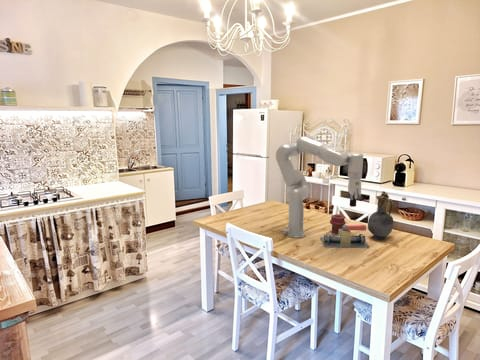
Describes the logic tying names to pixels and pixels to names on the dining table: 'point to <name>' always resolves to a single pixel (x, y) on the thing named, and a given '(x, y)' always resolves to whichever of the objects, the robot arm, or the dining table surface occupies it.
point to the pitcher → (381, 218)
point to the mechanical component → (337, 222)
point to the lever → (353, 227)
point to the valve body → (344, 240)
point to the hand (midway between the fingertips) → (352, 206)
